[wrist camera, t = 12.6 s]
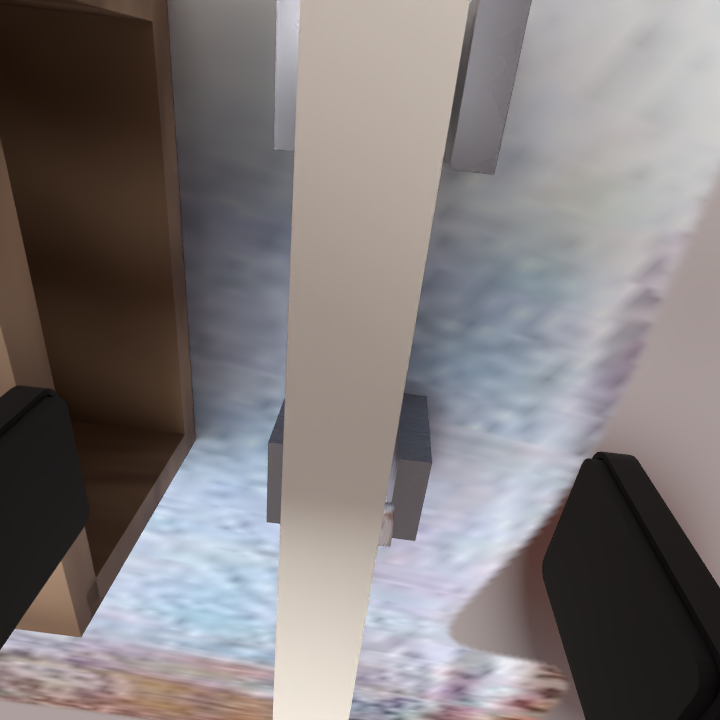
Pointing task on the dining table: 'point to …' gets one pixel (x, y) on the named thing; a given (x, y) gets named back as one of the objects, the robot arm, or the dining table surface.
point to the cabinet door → (352, 315)
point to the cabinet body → (95, 267)
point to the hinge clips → (462, 153)
